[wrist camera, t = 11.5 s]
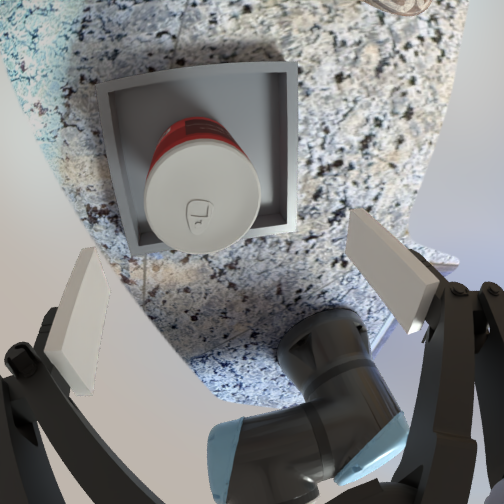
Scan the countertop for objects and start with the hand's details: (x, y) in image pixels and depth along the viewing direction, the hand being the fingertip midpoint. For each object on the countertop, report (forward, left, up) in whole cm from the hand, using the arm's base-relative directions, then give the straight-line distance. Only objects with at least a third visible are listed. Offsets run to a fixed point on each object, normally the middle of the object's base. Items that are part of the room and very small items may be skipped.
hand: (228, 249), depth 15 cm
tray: (0, 0, -17) cm, 17 cm away
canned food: (0, +1, -16) cm, 16 cm away
